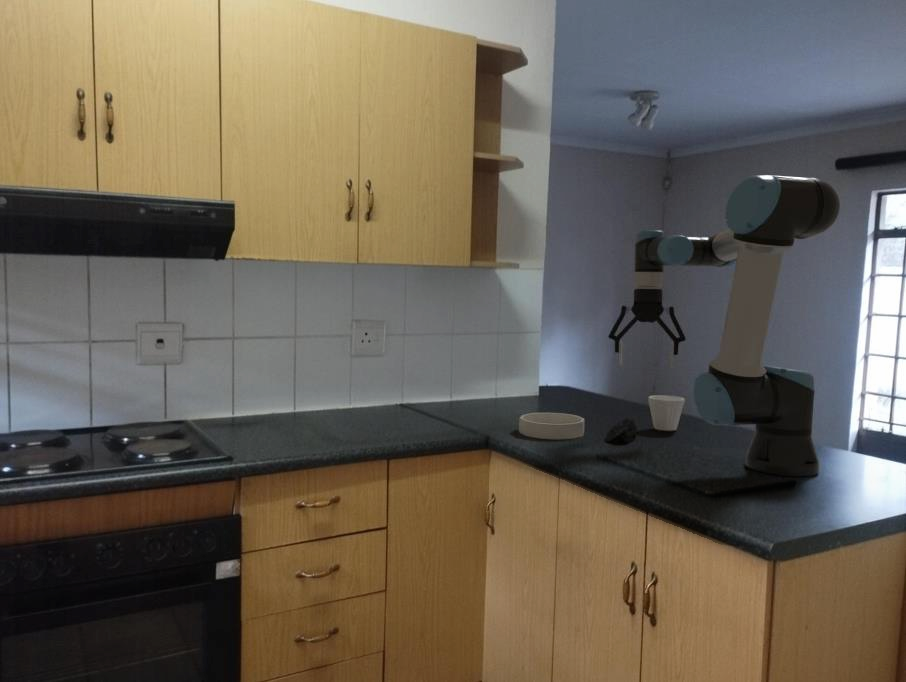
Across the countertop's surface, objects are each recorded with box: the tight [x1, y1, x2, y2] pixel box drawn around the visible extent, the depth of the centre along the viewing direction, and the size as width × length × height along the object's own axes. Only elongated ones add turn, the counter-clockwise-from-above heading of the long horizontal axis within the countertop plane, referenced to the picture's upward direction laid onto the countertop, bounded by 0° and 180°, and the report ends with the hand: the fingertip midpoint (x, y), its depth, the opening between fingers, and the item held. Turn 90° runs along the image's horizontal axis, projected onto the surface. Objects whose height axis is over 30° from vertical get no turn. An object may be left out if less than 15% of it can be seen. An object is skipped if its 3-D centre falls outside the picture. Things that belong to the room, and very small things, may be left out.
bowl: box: [518, 411, 585, 440], centre depth 199 cm, size 18×18×4 cm
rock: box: [604, 417, 638, 445], centre depth 190 cm, size 7×10×6 cm
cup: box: [647, 394, 685, 433], centre depth 204 cm, size 10×10×9 cm
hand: (645, 366), depth 195 cm, fingers open, 13 cm apart
